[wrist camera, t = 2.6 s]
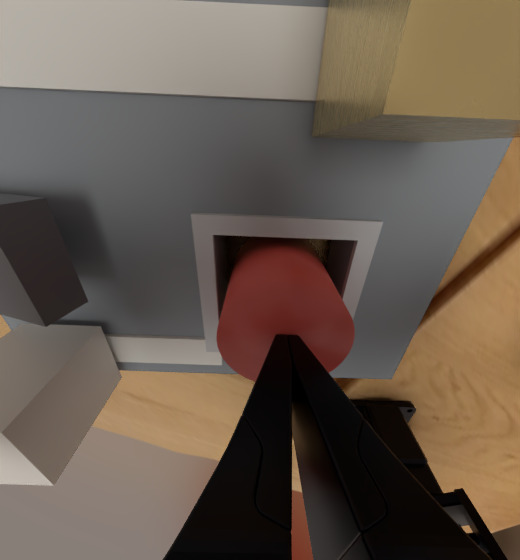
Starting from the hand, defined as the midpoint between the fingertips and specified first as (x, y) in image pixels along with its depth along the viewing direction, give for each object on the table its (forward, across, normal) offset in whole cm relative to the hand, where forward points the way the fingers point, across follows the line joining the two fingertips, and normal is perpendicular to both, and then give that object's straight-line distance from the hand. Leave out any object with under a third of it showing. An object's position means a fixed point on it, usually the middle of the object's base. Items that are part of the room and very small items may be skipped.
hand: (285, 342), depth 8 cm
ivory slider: (+3, +11, +4) cm, 12 cm away
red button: (+6, 0, 0) cm, 6 cm away
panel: (+6, +4, -3) cm, 7 cm away
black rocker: (+1, +11, -3) cm, 11 cm away
